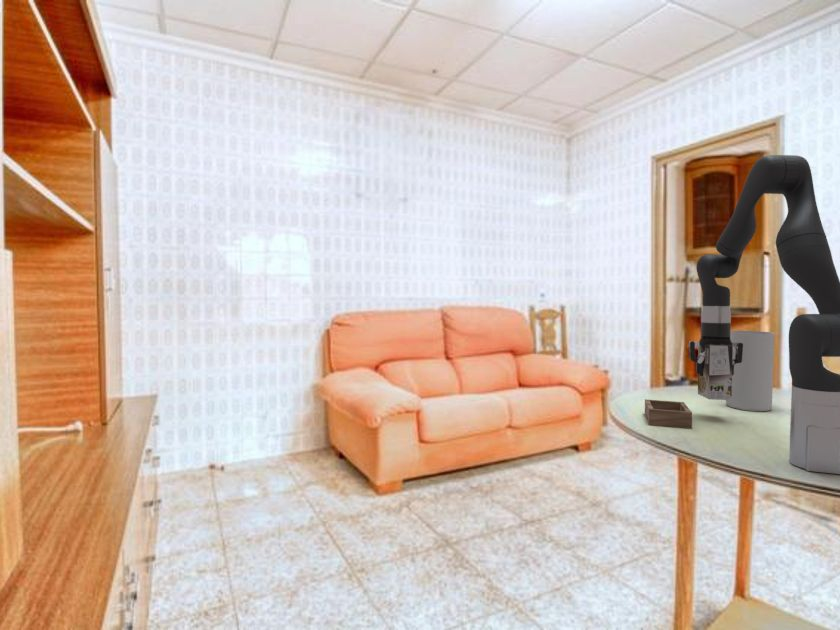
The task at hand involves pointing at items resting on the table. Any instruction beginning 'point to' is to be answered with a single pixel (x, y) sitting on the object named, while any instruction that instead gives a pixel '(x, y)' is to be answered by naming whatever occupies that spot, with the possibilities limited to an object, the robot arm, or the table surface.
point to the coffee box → (716, 372)
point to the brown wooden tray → (668, 414)
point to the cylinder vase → (753, 371)
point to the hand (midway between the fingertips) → (714, 376)
